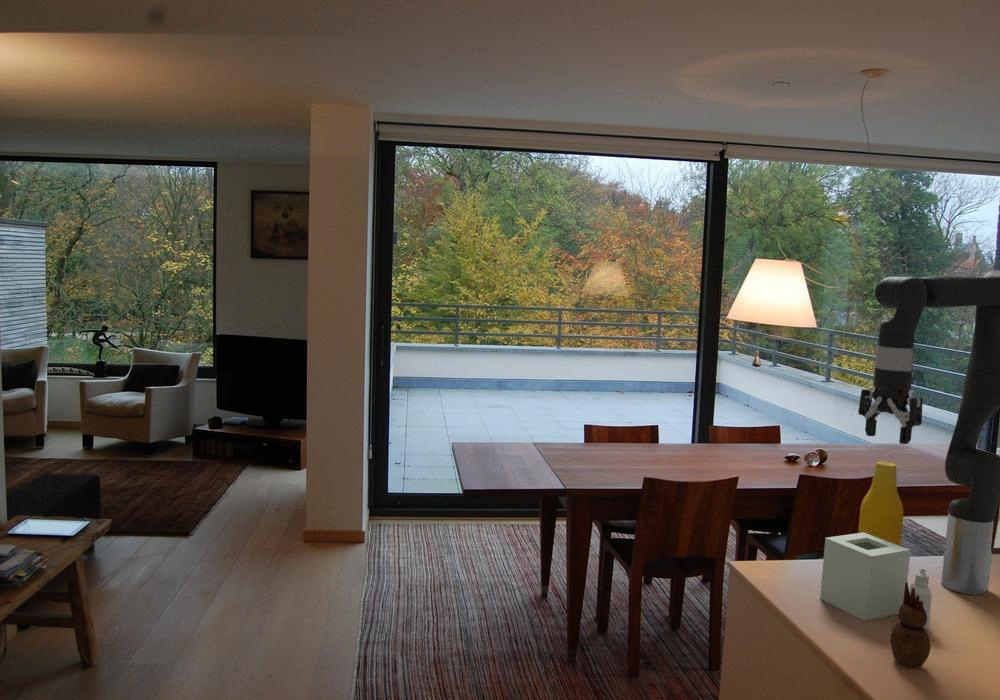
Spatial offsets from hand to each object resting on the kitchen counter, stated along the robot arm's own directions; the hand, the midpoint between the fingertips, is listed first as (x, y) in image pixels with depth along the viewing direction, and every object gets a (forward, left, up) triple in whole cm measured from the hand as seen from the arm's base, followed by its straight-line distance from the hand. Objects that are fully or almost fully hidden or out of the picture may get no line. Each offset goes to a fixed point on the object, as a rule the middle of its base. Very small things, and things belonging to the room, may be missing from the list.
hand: (886, 439), depth 177 cm
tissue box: (+7, +3, -36) cm, 37 cm away
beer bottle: (-7, -5, -36) cm, 37 cm away
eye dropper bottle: (+4, +14, -36) cm, 39 cm away
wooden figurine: (+21, +25, -36) cm, 49 cm away
